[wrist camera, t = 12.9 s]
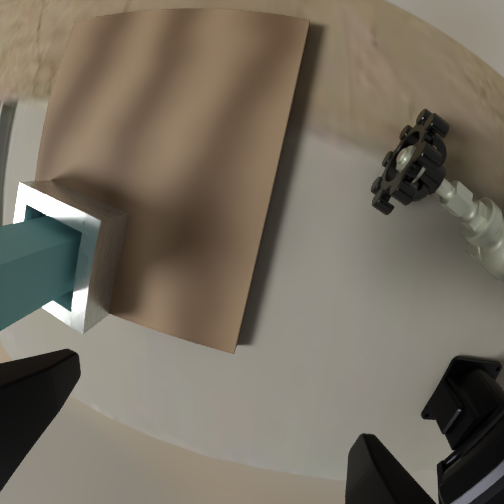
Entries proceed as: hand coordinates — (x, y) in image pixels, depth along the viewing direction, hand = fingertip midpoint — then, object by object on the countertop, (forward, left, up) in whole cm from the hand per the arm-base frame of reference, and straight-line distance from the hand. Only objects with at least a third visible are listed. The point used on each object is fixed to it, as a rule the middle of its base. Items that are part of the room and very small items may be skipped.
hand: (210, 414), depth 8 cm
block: (+14, +1, -12) cm, 18 cm away
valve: (-12, -8, -13) cm, 19 cm away
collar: (+14, +1, -12) cm, 18 cm away
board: (+10, -6, -13) cm, 17 cm away
